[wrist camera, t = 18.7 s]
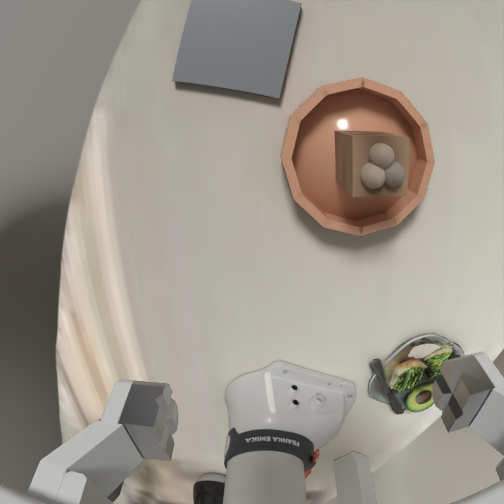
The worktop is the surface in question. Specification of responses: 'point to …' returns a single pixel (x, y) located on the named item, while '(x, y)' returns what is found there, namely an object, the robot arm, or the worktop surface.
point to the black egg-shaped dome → (209, 489)
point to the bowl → (323, 154)
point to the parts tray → (237, 44)
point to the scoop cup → (372, 163)
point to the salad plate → (411, 374)
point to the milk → (354, 479)
